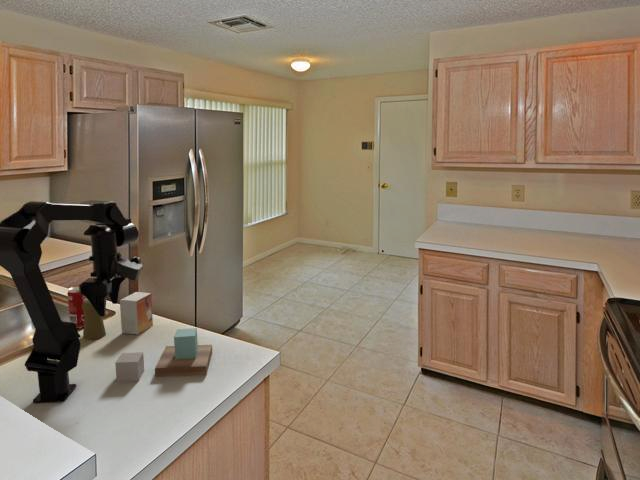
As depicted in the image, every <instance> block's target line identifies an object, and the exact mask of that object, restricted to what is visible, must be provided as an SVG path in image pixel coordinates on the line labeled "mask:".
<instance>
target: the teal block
mask: <svg viewBox="0 0 640 480" xmlns="http://www.w3.org/2000/svg"><path fill="white" fill-rule="evenodd" d="M173 343H174V345H173V346H175V360H178V359H192V358H196V356H197V351H198V345H199V344H198V328H196V327H191V328H177V329H176V330H175V334H174V336H173Z"/></svg>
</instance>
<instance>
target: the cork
mask: <svg viewBox="0 0 640 480" xmlns="http://www.w3.org/2000/svg"><path fill="white" fill-rule="evenodd" d="M82 309H83V311H84V312H85V314H84V328H82V329H83V332H82V334H83V335H82V338H83V340H87V341H92V340H93V341H96V340H99V339H102V338H104V337H106V336H107V332H106V331H107V330H106V328H105V324H104V319H103V317H100V316H99V314H98V313H97V312H96V310H95V309H94V307H93V306H92V304H91V303H90V302H89V300H85V301H84V302H83V303H82Z"/></svg>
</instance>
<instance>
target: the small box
mask: <svg viewBox="0 0 640 480" xmlns="http://www.w3.org/2000/svg"><path fill="white" fill-rule="evenodd" d="M152 303H153V298H152V293H150V292H141V291H135V292H132V294H129V295H127V296H125V297H123V298H121V299H119V310H120V311H119V312H120V326H121V333H122V334H128V335H140V334H141V333H144V331H146V330H147V329H149V328H151V327H152V326H153V325H154V324H153V323H154V322H153V321H154V320H153V304H152Z"/></svg>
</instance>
